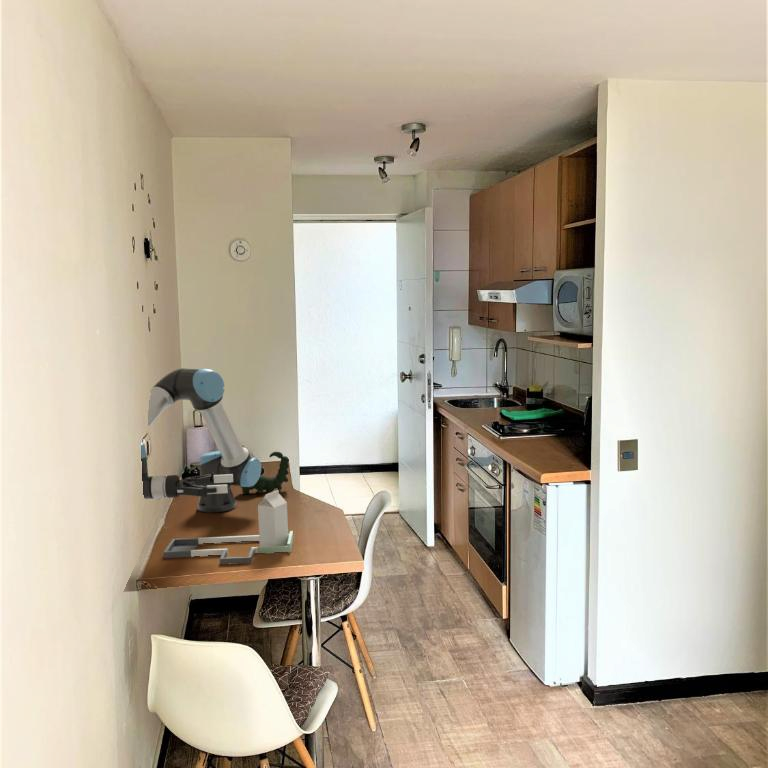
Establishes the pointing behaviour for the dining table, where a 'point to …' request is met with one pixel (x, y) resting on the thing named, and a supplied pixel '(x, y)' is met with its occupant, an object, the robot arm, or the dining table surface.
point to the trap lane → (188, 546)
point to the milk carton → (273, 520)
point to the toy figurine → (270, 482)
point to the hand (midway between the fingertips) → (230, 483)
